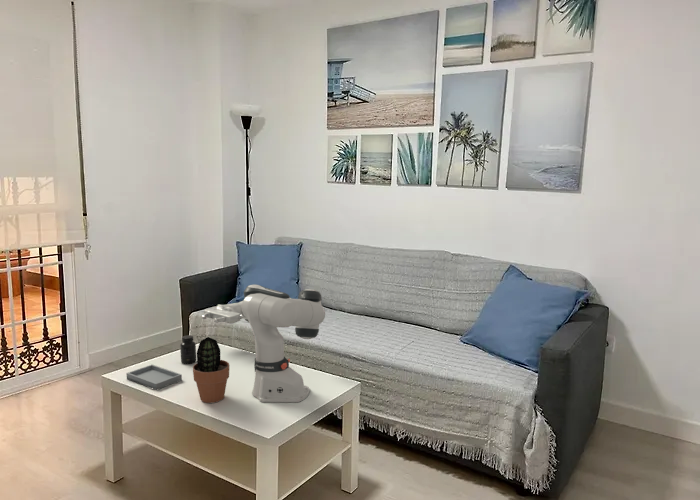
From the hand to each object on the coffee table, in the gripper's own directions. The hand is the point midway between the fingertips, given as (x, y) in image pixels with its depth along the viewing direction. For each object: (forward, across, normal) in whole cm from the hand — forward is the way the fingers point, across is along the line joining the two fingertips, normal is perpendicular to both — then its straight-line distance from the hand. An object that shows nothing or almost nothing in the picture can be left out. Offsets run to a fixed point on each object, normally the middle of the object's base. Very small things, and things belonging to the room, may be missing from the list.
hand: (208, 319), depth 253 cm
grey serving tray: (+34, -6, -18) cm, 39 cm away
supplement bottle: (+12, 0, -18) cm, 22 cm away
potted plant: (+31, -40, -18) cm, 54 cm away
